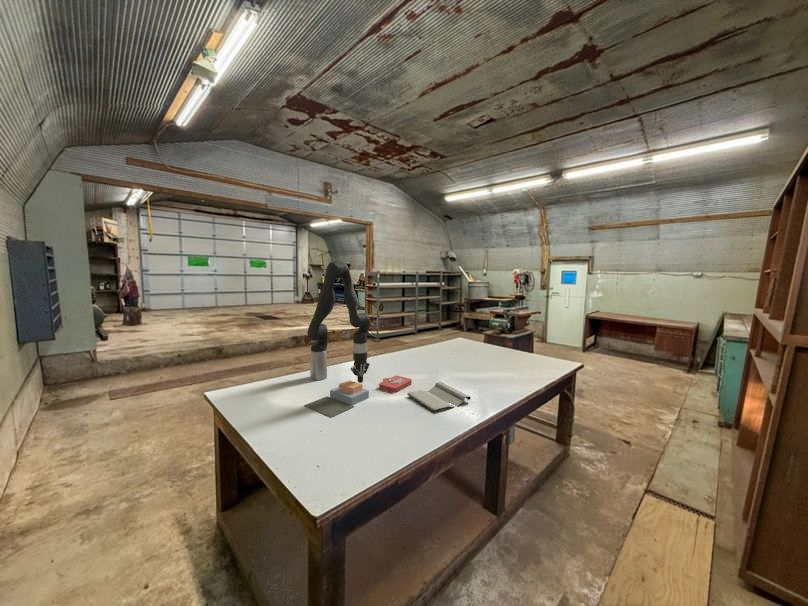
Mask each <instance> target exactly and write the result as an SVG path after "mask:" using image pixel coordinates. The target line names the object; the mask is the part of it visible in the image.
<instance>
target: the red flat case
mask: <svg viewBox="0 0 808 606" xmlns="http://www.w3.org/2000/svg"><path fill="white" fill-rule="evenodd" d="M412 381H413V380H412V378H409V377H404V376H400V375H394V376H392V377H384V378H382V381H380V382H379V383H378V384H379V385H378V387H379V388H378V389H379V390H382V391H386V392H389V393H395V394H397V393H399V392H400V391H402V390H405V389H406V388H408V387H409V386H411V385H412Z"/></svg>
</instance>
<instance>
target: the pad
mask: <svg viewBox="0 0 808 606" xmlns="http://www.w3.org/2000/svg"><path fill="white" fill-rule="evenodd" d="M303 406H304V407H306V408H308V409H311V410H313V411H315V412H318V413H320V414H322V415H325V416H327V417H329V418H334V417H336V416H338V415H341V414H343V413H345V412H346V411H349V410H351V409H353V408H355V405H349V404H347V403H344V402H341V401H338V400H336V399H333V398H330V396H327V395H326V396H324V397H322V398H319V399H316V400H314V401H312V402H309V403H306V404H303Z"/></svg>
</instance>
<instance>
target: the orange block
mask: <svg viewBox="0 0 808 606" xmlns="http://www.w3.org/2000/svg"><path fill="white" fill-rule="evenodd" d="M338 385H339V386H338V387H339V390H342V391H345V392H348V393H351V394H354V393H357V392H359V391H361V390H363V389H364V388H363V383H359V382H355V381H352V380H347V381H344V382H340V383H339V384H338Z"/></svg>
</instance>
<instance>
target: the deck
mask: <svg viewBox="0 0 808 606" xmlns="http://www.w3.org/2000/svg"><path fill="white" fill-rule="evenodd" d="M362 389H363V390H361V391H359V392H357V393H354V394H351V393H348V392H345V391H342V390H339V386H337V387H335V388H332V389H330V390H329V397H330V398H333V399H336V400H338V401H341V402H344V403H347V404H349V405H352V406H355V405H356V404H359V403H361V402H363V401H365V400H368V399H369V396H370V395H369V391H370V390H368V389H365V388H362Z"/></svg>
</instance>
